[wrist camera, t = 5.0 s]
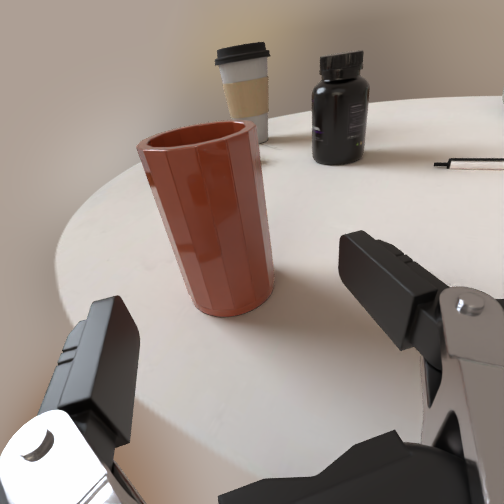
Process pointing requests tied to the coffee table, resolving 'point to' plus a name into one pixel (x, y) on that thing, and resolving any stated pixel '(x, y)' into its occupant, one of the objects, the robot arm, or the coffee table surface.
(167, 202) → the tumbler
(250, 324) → the coffee table surface
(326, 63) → the supplement bottle
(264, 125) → the coffee cup
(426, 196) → the coffee table surface
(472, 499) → the robot arm
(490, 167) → the pen
